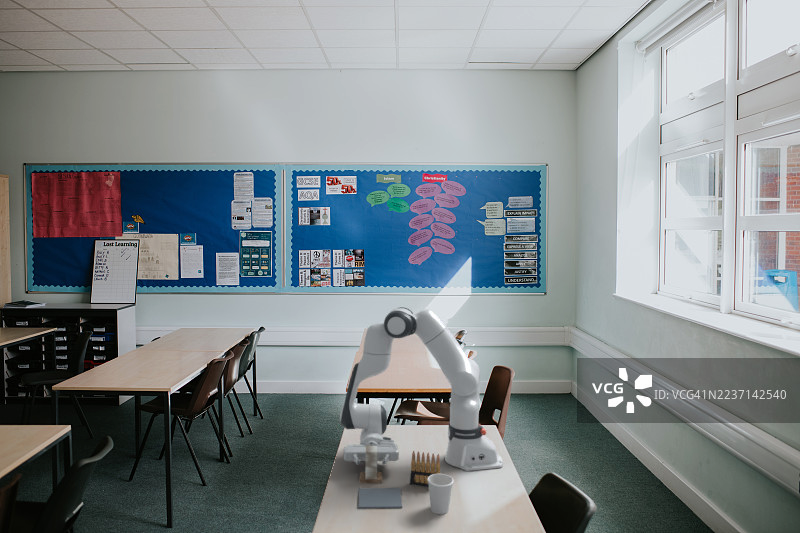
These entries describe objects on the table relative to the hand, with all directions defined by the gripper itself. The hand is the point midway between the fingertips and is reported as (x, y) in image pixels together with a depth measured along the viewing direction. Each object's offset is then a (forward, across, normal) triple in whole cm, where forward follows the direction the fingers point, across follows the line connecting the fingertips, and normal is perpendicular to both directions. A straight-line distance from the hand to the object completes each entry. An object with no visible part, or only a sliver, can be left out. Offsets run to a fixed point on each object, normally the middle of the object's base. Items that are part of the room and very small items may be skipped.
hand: (371, 462), depth 184 cm
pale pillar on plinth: (-1, 0, +7) cm, 7 cm away
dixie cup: (+20, +22, +7) cm, 31 cm away
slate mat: (+13, +3, +6) cm, 15 cm away
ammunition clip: (+4, +19, +7) cm, 21 cm away
